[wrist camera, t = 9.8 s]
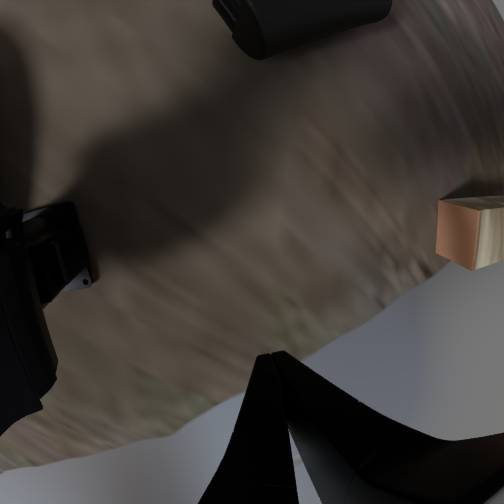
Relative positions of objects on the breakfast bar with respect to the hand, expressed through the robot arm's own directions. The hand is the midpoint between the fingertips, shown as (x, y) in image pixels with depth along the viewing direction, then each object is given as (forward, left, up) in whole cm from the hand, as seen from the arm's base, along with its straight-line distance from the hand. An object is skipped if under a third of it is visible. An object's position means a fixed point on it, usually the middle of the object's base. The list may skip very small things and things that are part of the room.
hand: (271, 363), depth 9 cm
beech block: (+18, -1, -11) cm, 21 cm away
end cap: (+6, +17, -13) cm, 22 cm away
